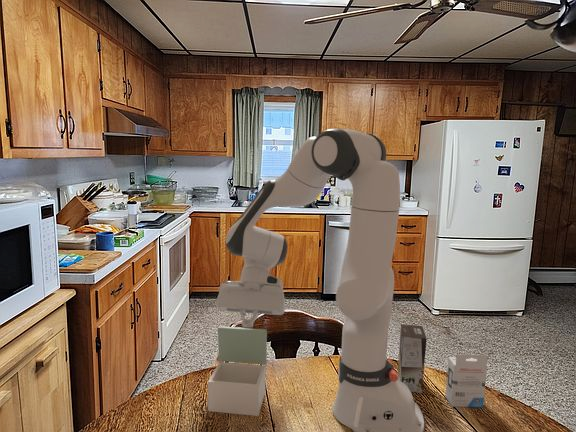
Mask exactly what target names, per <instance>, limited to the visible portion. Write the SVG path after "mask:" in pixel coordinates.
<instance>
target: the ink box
mask: <svg viewBox="0 0 576 432" xmlns="http://www.w3.org/2000/svg"><path fill="white" fill-rule="evenodd" d="M447 358H448V359H447V370H446V386H445V395H444V397H445V398H446V399H447V401H448V403H449V404H450V406H451V407H457V408H484V404H485V403H484V401H485V393H486V392H485V391H486V383H487V382H486V381H487V374H488V373H487V372H488V366H487V364H488V355H487V354H456V355H455V357H454V356H448V357H447Z"/></svg>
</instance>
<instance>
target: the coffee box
mask: <svg viewBox="0 0 576 432" xmlns="http://www.w3.org/2000/svg"><path fill="white" fill-rule="evenodd" d="M399 329H400V332H399V334H400V335H399V344H398V347H399V348H398V349H399V350H398V362H397V363H398V364H397V376H398V379H399V380H400V381H401V382H403V383H404V384H405V385H406V386H407V387H408V388H409V390H410V392H411V393H418V394H422V393H423V385H424V373H425V372H424V371H425V363H426V362H425V361H426V349H427V340H428V338H427V336H426V333H425V331H424V327H423V326H422V325H417V324H416V325H415V324H413V325H412V324H400V328H399Z"/></svg>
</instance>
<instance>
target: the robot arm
mask: <svg viewBox="0 0 576 432" xmlns="http://www.w3.org/2000/svg"><path fill="white" fill-rule="evenodd" d="M386 159H387V149H386V146H385V144H384V142H383V141H382V140H381V138H379V137H378V136H376V135H374V134H371V133H365V132H362V131H359V130H356V129H346V128H344V129H342V128H329V129H326V130H324V131H322V132H320V133H319V134H317V135H316V136H311V137H309V138H307V139H306V140H304V142H303V144H302V145H301V146H300V147H299V149H298V150H297V151H296V153H295V154H294V156H293V158H292V160H291V161H290V163H289V165H288V167H287V169H286V170H285V171H284V172H283V174H281V175H280V176H279V177H277V178H275V179H271V180H268V181H267V182H266V183H265V184H264V185H263V186H262V187H261V189H259V191H258V192H257V193H256V195H255V196H254V197H253V199H252V200H251V202H250V203H249V204H248V206H247V207H246V208H245V210H244V211H243V212H242V213H241V215H240V216H239V217H238V218H237V220H235V222H234V223H232V225H231V227H230V228H229V229H228V231H227V233H226V237H225V240H224V243H225V247H226V248H227V250H228V252H229V253H230V254H231V255H232V256H238V257H244V258H243V264H244V265H243V268H242V269H241V273H240V279H239V281H236V280H234V281H232V280H231V281H230V280H226V281H225V282H222V283H220V285H219V287H218V295H217V298H216V302H215V305H216V308H217V309H218V311H219V312H230V313H239V314H240V317H241V319H242V321H241V326H242V327H241V328H253V326H254V323H255V321H256V320H257V319H258V318H259V315H260V314H261V315H272V316H273V315H275V316H282V315H284V313H285V311H286V302H285V301H286V300H285V293H284V285H283V284H284V283H283V281H282V279H281V278H279V277H276V276H274V275H272V274H270V271H271V269H272V268H275V267H277V266H279V265H281V264H282V263H284V261H286V257H287V254H288V247H289V245H288V242H287V239H286V237H285V236H284V235H282V234H280V233H278V232H275V231H272V230H269V229H265V228H262V227H259V226H256V223H257V222H258V221H259V220H260V218H261V217H262V216H263V214H264V213H265V212H266V211H267V210H269V209H272V208H280V207H290V208H291V207H292V208H293V207H294V208H297V207H298V208H299V207H300V208H301V207H305V206H308V205H310V204H312V203H314V202H315V201H316V200H317V199H318V197H319V196H320V194H321V193H322V191H323V190H324V187H325V186H326V184H327V182H328V181H329V179H330V177H331V176H332V177H335V178H336V179H338V180H340V181H346V180H347V179H348V181H349V182H350V183H351V186H352V187H351V188H352V198H351V199H352V200H351V209H350V219H349V220H350V221H349V229H348V239H347V244H346V248H345V253H344V257H343V261H342V266H341V270H340V271H341V272H340V277H339V282H338V286H337V289H336V293H335V302H336V305H337V307H338V309H339V310H340V312H341V313H342V315H344V316H345V318H344V322H343V326H342V331H341V332H342V333H341V335H342V336H341V351H340V352H341V355H340V356H339V360H338V361H339V362H338V368H337V370H338V371H337V372H338V373H337V374H338V375H337V377H338V386H337V391H336V392H337V393H336V396H335V399H334V402H333V405H332V407H331V408H332V414H333V416H334V418H335V419H336V420H337V421H338V422H339V423H341V424H343V425H344V426H345V427H347V428H349V429H351V430H352V431H353V432H424V431H425V417H424V415H423V412H422V409H421V408H420V406H419V405H418V404H417V403H416V402H415V400H414V397H413V394H412V392H410V390H409V388H408V387H407V386H406V385H405V384H404V383H403V382H401V381H400V380H399V379H398V371H396V370H395V367H394V364H392V361H391V359H388V360H387V352H388V351H387V350H388V339H389V337H388V336H389V329H390V321H391V316H392V315H391V313H392V307H393V299H394V290H395V274H394V270H393V268H392V261H393V257H394V251H395V246H396V243H397V234H398V225H399V224H398V223H399V214H400V201H401V188H400V187H401V180H400V173H399V170H398V168H397V167H396V166H395V165H394V164H393V163H391V162H388V161H386ZM247 314H252V317H251V318H249V319H248V318H246V319H245V317H246V316H247Z"/></svg>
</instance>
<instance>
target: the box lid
mask: <svg viewBox="0 0 576 432" xmlns="http://www.w3.org/2000/svg"><path fill="white" fill-rule="evenodd" d="M267 337H268V333H267V329H263V328H253V327H239V326H238V327H237V326H236V327H235V326H222V325H220V326H219V325H218V327H217V340H218V341H217V342H218V343H217V344H218V362H226V363H238V364H250V365H263V366H266V365H267V363H268V356H267V355H268V353H267V352H268V350H267V348H268V347H267V346H268V344H267V341H268V338H267Z"/></svg>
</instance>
